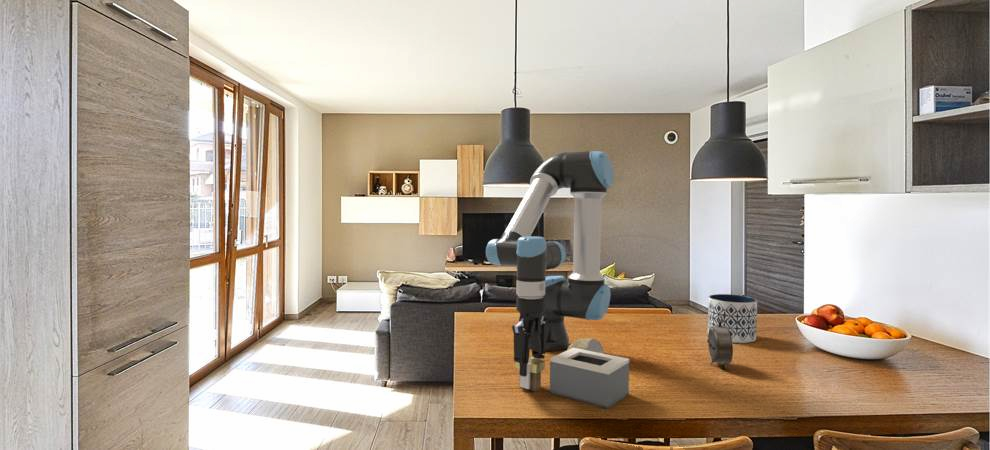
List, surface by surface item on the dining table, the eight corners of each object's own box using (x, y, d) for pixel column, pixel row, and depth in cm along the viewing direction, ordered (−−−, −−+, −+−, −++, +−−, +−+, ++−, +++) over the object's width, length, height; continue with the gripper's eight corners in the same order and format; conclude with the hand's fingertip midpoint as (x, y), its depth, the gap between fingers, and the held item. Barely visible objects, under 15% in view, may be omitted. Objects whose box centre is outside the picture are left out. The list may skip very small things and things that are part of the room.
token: (515, 368, 134) (515, 360, 134) (524, 364, 138) (524, 356, 137) (536, 373, 130) (536, 364, 130) (544, 369, 134) (545, 361, 134)
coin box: (549, 393, 131) (550, 358, 130) (572, 380, 140) (573, 347, 140) (608, 408, 121) (608, 371, 120) (628, 393, 130) (629, 358, 130)
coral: (592, 354, 141) (567, 333, 148) (582, 382, 145) (559, 360, 152) (615, 345, 147) (590, 325, 154) (605, 373, 151) (581, 352, 158)
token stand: (519, 386, 135) (519, 368, 135) (524, 384, 137) (524, 365, 136) (535, 391, 132) (535, 372, 132) (540, 388, 134) (540, 369, 133)
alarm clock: (733, 372, 147) (735, 316, 146) (713, 371, 148) (715, 315, 147) (723, 360, 158) (724, 308, 157) (704, 359, 159) (705, 307, 158)
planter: (702, 331, 194) (703, 293, 193) (747, 333, 192) (748, 294, 191) (714, 342, 178) (715, 301, 178) (763, 344, 176) (764, 303, 175)
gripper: (524, 303, 124) (523, 398, 125) (560, 293, 138) (559, 379, 139) (499, 299, 129) (498, 391, 130) (536, 290, 142) (535, 373, 143)
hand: (530, 384), depth 134 cm, fingers closed on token, 4 cm apart
